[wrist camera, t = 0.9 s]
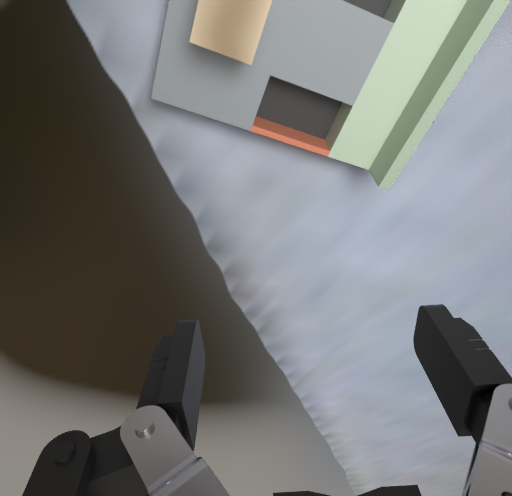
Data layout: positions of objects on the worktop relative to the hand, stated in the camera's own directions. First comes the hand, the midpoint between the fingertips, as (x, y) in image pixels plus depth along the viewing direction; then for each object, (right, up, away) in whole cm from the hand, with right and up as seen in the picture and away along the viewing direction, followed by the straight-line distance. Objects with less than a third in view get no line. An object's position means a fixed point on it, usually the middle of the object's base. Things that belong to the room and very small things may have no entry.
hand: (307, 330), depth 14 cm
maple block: (-4, +19, +12) cm, 23 cm away
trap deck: (+2, +19, +16) cm, 25 cm away
